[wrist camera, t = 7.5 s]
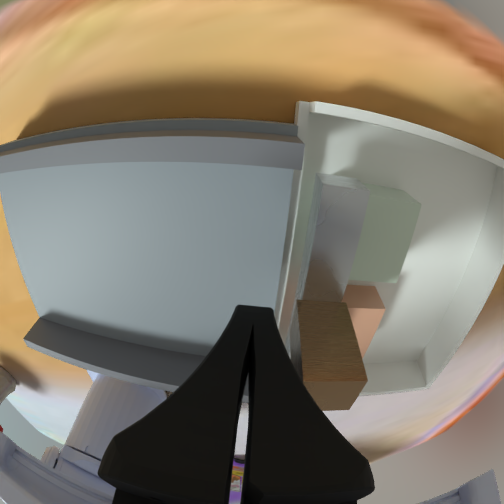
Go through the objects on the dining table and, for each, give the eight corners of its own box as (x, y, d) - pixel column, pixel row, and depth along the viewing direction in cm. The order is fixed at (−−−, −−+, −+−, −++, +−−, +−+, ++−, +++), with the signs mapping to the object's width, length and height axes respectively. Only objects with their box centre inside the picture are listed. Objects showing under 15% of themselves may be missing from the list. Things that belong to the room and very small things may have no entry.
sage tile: (383, 261, 14) (396, 283, 12) (312, 255, 14) (317, 277, 12) (403, 190, 12) (421, 204, 10) (325, 177, 12) (335, 189, 10)
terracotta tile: (355, 336, 16) (361, 360, 15) (294, 334, 17) (296, 359, 15) (375, 286, 15) (385, 309, 13) (306, 281, 15) (310, 305, 13)
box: (416, 360, 18) (428, 388, 16) (263, 359, 19) (261, 395, 16) (498, 159, 10) (531, 174, 8) (296, 102, 11) (303, 99, 8)
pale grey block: (310, 368, 15) (316, 452, 10) (276, 366, 15) (274, 452, 10) (361, 179, 10) (431, 246, 5) (310, 171, 10) (346, 236, 5)
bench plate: (265, 350, 18) (262, 407, 14) (57, 313, 18) (29, 350, 15) (293, 123, 11) (306, 130, 7) (15, 140, 12) (-35, 159, 8)
